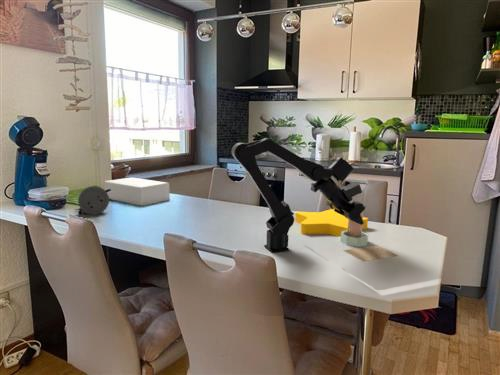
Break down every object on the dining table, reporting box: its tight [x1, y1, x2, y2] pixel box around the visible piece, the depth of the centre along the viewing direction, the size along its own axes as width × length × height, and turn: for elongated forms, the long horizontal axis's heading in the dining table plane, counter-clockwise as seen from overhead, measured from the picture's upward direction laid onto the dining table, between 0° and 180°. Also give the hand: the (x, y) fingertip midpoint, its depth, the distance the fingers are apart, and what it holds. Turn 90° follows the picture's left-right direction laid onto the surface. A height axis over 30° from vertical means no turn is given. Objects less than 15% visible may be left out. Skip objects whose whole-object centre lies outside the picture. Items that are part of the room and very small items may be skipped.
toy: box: [77, 185, 111, 215], centre depth 165 cm, size 17×13×30 cm
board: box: [343, 245, 399, 262], centre depth 116 cm, size 14×10×1 cm
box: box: [104, 177, 171, 207], centre depth 195 cm, size 19×30×10 cm, turn 56°
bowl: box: [339, 231, 369, 248], centre depth 127 cm, size 9×9×4 cm
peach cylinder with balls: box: [347, 211, 364, 238], centre depth 126 cm, size 5×5×13 cm
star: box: [294, 208, 369, 237], centre depth 147 cm, size 30×4×29 cm
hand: (358, 221), depth 126 cm, fingers open, 5 cm apart
